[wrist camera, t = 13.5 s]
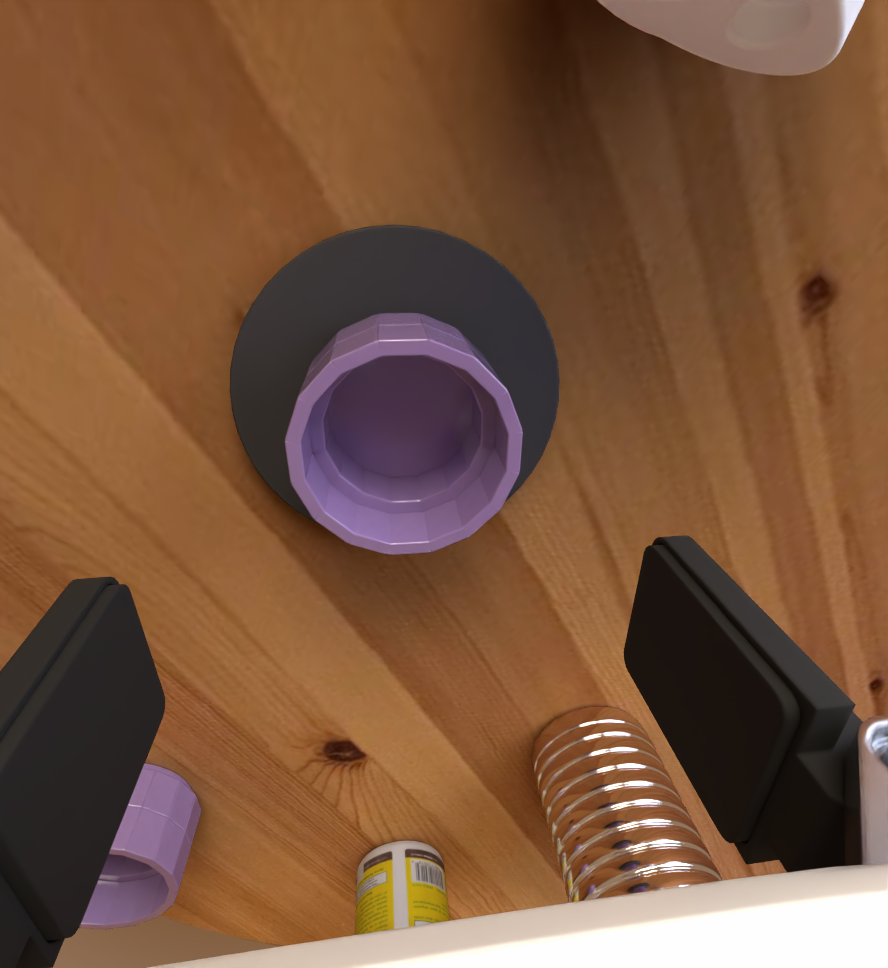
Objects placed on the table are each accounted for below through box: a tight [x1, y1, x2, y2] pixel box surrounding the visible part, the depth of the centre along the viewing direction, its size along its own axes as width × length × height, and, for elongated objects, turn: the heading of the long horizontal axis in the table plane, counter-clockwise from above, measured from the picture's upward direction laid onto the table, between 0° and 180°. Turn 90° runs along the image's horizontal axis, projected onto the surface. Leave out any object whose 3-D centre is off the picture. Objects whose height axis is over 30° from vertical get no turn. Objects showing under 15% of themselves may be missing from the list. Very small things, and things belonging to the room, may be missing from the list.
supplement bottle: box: [355, 841, 450, 935], centre depth 30 cm, size 6×6×10 cm
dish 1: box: [79, 763, 201, 929], centre depth 27 cm, size 7×7×4 cm
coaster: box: [230, 225, 559, 525], centre depth 20 cm, size 12×12×1 cm
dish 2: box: [285, 313, 523, 555], centre depth 18 cm, size 7×7×4 cm
